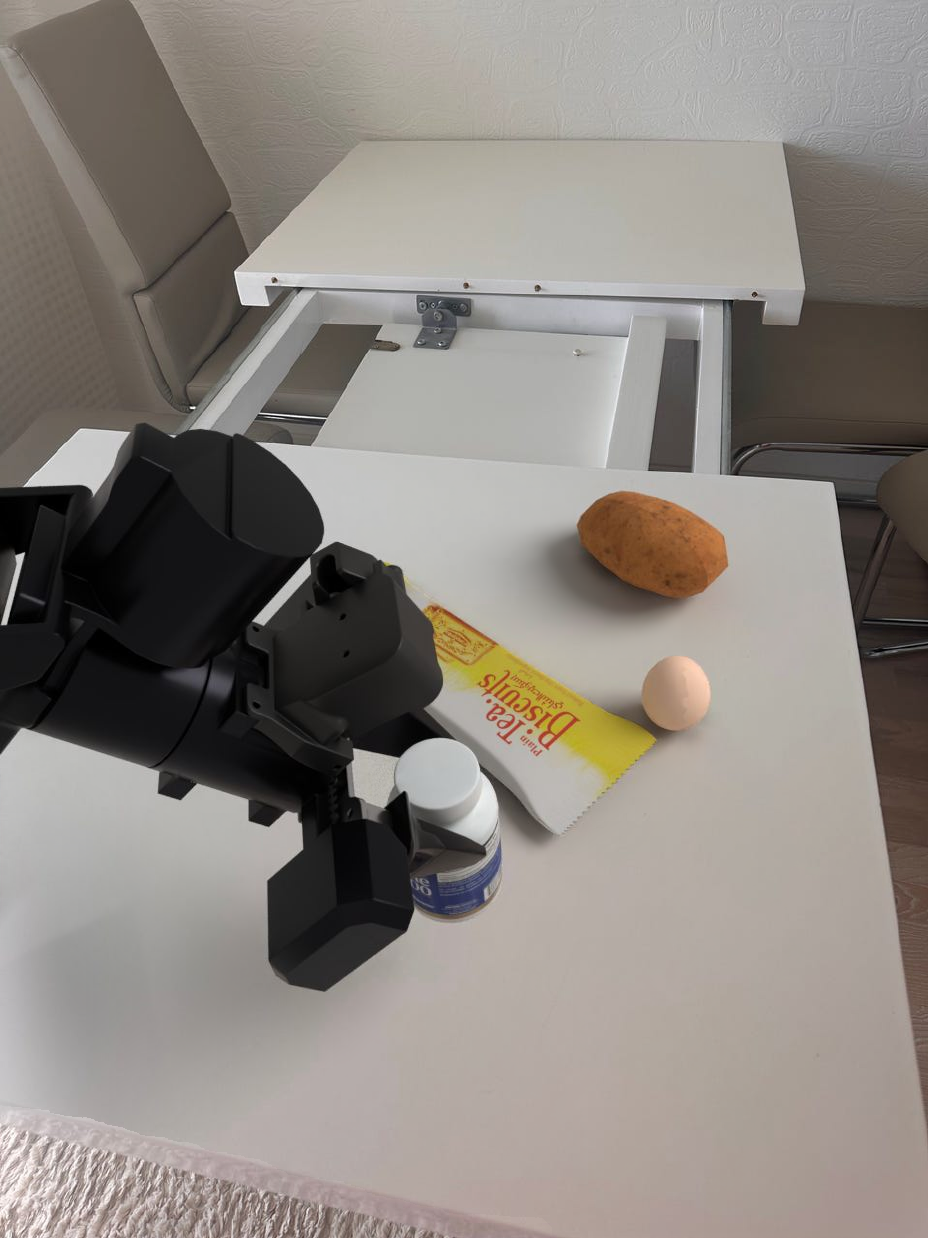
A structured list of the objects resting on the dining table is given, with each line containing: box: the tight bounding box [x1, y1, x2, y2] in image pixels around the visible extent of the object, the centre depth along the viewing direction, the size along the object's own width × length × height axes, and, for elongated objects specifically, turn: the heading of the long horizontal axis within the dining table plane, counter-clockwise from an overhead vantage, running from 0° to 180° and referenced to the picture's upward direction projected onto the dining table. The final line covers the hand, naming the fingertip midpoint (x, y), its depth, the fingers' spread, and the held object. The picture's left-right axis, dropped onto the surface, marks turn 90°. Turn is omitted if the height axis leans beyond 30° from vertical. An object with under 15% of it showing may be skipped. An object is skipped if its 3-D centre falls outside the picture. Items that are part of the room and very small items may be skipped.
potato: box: [576, 490, 729, 599], centre depth 73 cm, size 7×13×7 cm, turn 38°
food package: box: [383, 561, 658, 837], centre depth 67 cm, size 27×2×10 cm
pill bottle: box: [386, 738, 504, 924], centre depth 47 cm, size 5×5×10 cm
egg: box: [640, 655, 711, 732], centre depth 63 cm, size 4×4×6 cm
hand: (470, 806), depth 46 cm, fingers closed on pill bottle, 5 cm apart
